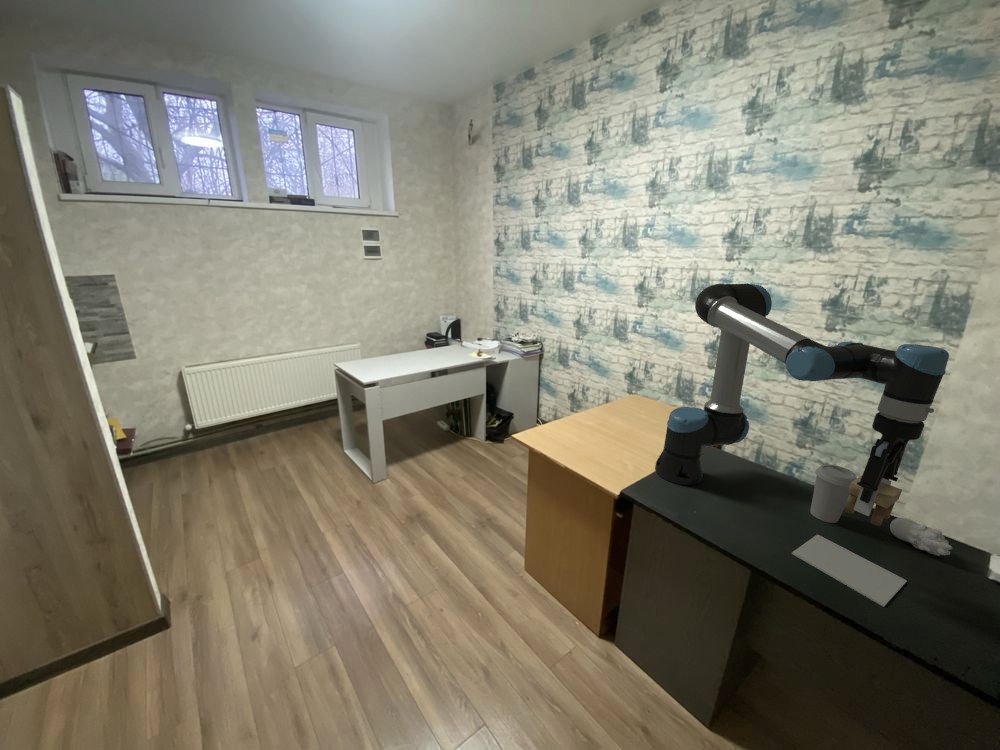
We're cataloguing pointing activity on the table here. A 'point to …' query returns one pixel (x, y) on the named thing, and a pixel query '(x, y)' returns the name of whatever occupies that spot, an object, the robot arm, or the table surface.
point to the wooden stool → (883, 500)
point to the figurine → (920, 536)
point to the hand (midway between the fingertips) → (868, 507)
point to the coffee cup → (831, 492)
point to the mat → (850, 569)
